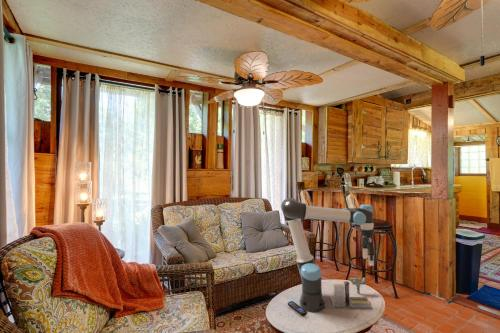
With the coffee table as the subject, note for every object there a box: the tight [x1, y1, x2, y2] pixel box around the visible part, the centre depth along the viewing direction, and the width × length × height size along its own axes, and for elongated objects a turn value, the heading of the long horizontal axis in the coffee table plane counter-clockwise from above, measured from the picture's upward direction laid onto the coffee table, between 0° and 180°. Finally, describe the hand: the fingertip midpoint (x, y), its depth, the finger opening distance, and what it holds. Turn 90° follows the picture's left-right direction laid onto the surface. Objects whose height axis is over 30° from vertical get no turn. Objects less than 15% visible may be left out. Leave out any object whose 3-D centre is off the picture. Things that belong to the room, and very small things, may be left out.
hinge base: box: [329, 280, 373, 310], centre depth 164 cm, size 22×12×13 cm, turn 82°
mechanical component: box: [349, 276, 367, 295], centre depth 177 cm, size 3×10×10 cm, turn 89°
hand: (368, 261), depth 175 cm, fingers open, 13 cm apart
